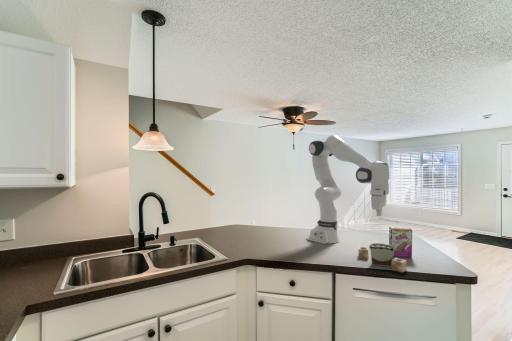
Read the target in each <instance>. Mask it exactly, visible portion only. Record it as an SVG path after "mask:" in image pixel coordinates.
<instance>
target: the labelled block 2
mask: <svg viewBox="0 0 512 341" xmlns="http://www.w3.org/2000/svg"><path fill="white" fill-rule="evenodd" d="M407 263H408V261H407V259H403V258H401V257H395V258H394V257H393V259H392V267H391V270H392V271H395V272H397V273H398V272H399V273H404V272H406V271H407V270H408V269H407Z"/></svg>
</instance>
